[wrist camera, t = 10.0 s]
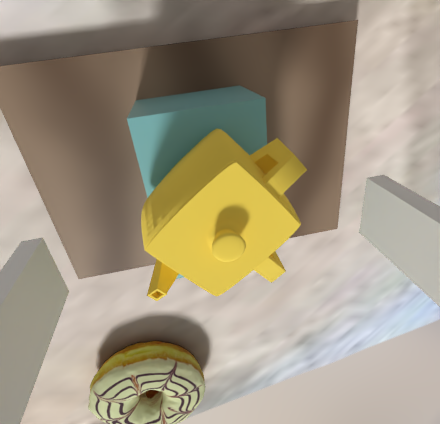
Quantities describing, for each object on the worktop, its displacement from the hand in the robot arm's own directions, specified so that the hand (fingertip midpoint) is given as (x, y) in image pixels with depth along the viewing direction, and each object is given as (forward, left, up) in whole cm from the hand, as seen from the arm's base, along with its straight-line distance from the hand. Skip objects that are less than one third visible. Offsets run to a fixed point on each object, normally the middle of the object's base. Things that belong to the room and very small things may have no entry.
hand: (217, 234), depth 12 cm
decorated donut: (-8, -21, -10) cm, 24 cm away
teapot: (0, 0, -3) cm, 3 cm away
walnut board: (0, 0, -9) cm, 9 cm away
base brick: (0, 0, -8) cm, 8 cm away
